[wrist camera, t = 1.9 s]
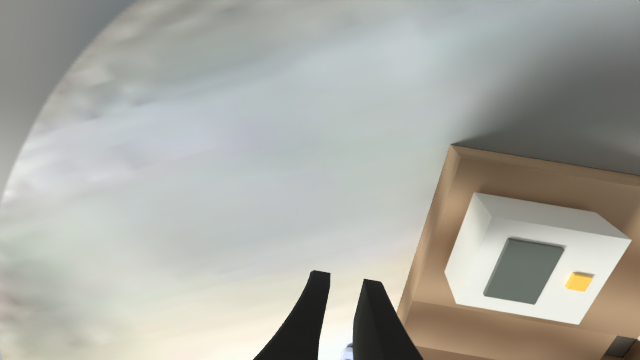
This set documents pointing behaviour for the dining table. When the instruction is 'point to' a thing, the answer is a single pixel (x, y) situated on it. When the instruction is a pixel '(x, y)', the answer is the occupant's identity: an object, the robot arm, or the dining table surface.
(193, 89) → the dining table surface
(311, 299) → the robot arm
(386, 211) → the dining table surface
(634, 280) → the board
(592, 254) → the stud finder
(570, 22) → the dining table surface
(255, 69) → the dining table surface
